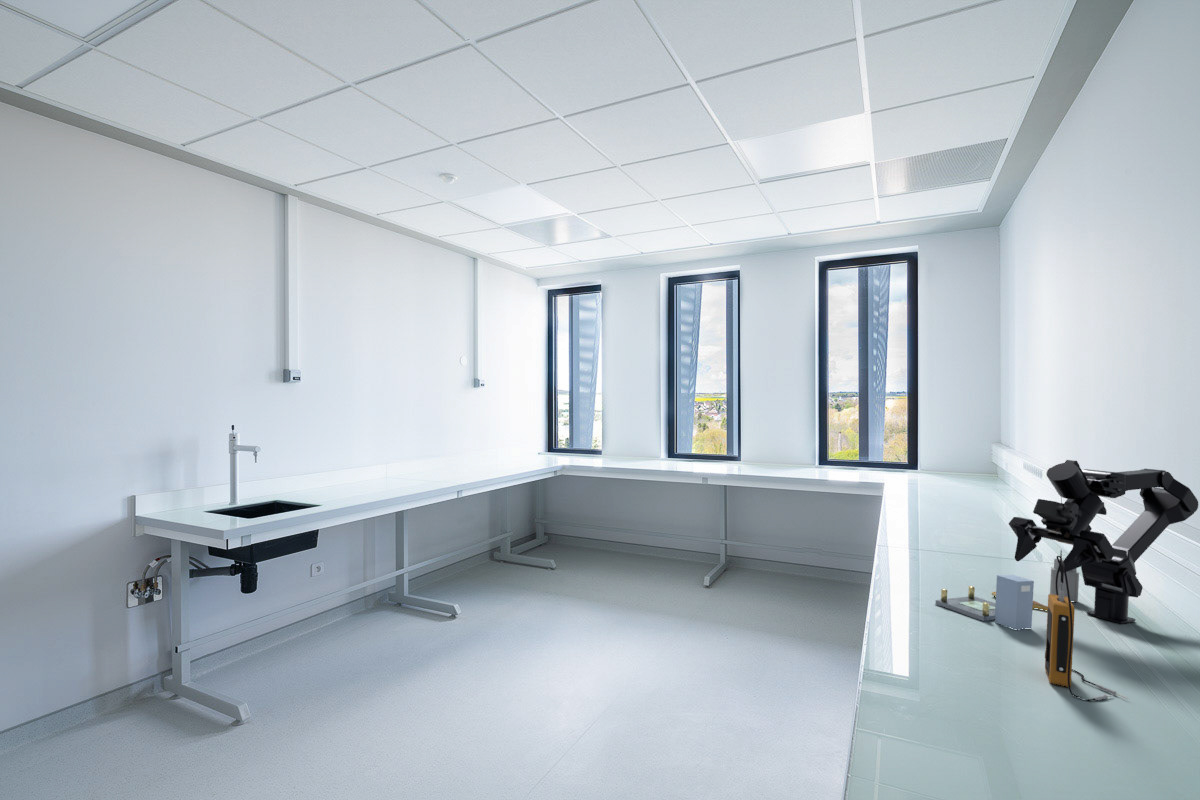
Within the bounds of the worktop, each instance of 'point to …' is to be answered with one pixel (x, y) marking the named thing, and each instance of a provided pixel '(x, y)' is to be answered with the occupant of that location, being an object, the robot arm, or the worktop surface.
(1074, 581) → the power adapter
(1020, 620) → the block
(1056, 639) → the multimeter
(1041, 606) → the shard
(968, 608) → the chassis plate
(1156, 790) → the worktop surface
